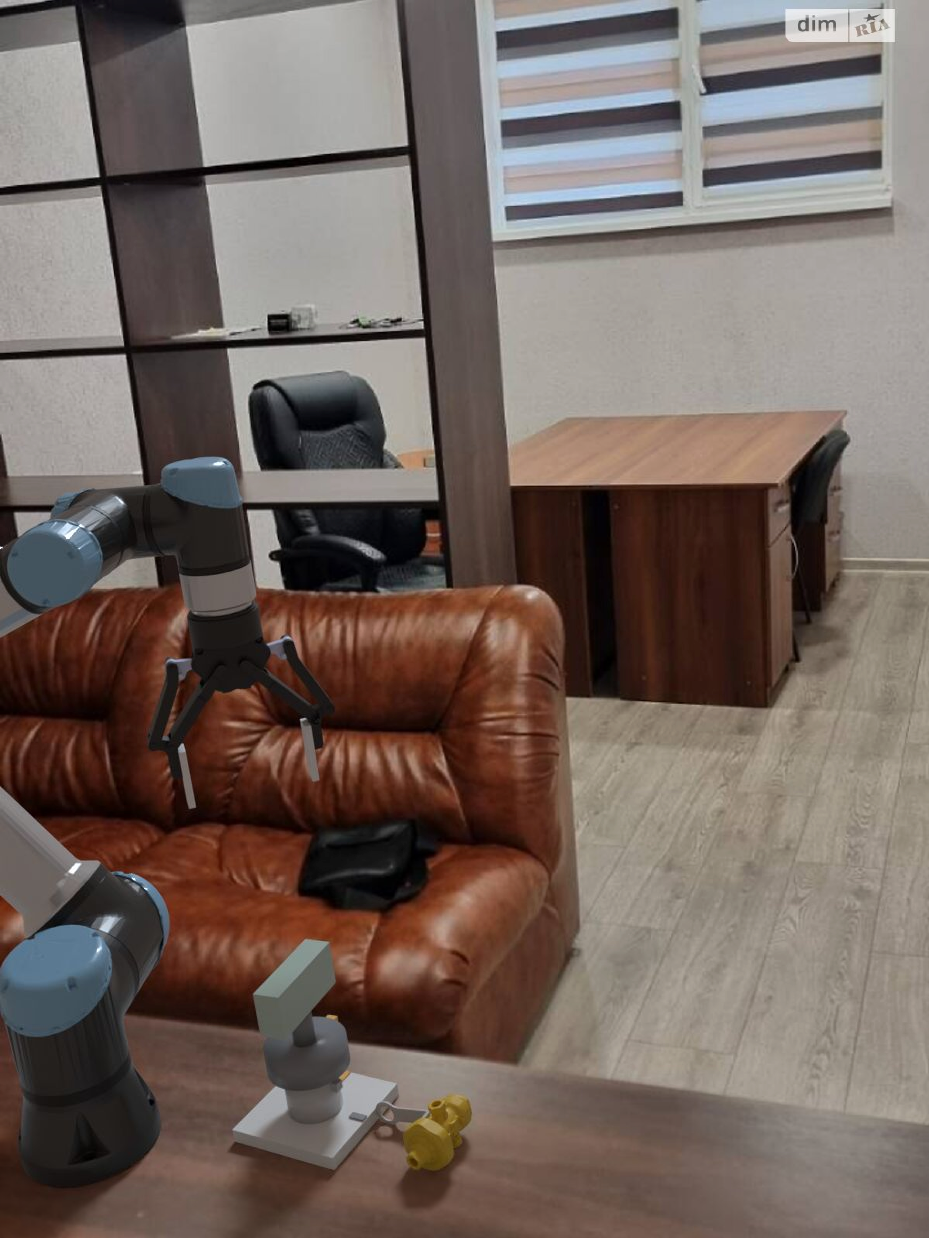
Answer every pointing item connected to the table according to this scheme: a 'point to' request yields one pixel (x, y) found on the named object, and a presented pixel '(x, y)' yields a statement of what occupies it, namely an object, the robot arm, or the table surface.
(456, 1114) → the pressure relief valve
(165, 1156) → the table surface
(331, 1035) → the cap
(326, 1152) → the base
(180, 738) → the robot arm
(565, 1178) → the table surface
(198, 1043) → the table surface
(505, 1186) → the table surface
